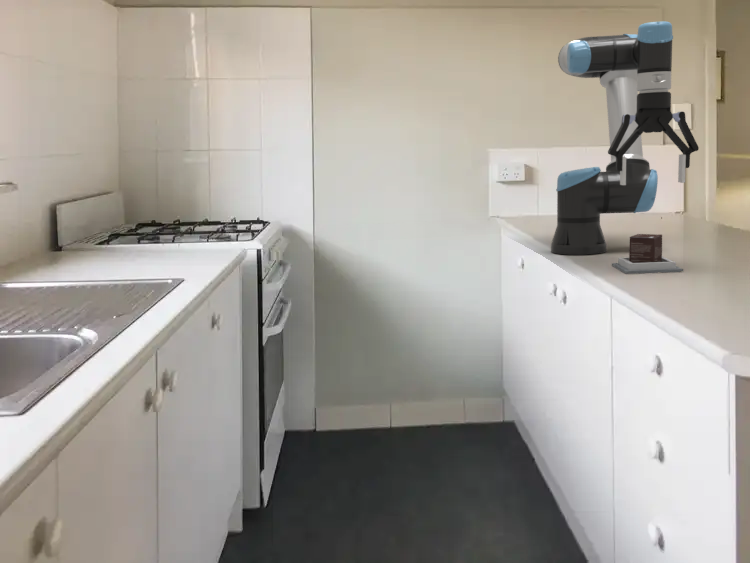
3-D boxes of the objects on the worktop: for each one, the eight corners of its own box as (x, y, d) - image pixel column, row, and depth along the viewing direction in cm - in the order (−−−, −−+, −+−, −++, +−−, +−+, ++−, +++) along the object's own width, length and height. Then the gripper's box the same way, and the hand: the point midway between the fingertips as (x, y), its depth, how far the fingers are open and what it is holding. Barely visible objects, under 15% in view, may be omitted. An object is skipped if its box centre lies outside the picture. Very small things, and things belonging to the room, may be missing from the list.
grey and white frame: (611, 265, 189) (611, 257, 189) (665, 263, 188) (665, 255, 188) (625, 273, 176) (625, 264, 176) (683, 271, 176) (683, 262, 175)
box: (637, 263, 187) (637, 233, 185) (662, 265, 183) (662, 234, 182) (628, 267, 182) (628, 236, 181) (654, 268, 178) (654, 237, 177)
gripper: (602, 93, 175) (601, 186, 179) (715, 88, 173) (711, 182, 177) (595, 95, 182) (595, 184, 186) (703, 90, 180) (700, 180, 184)
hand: (652, 183), depth 182 cm, fingers open, 13 cm apart
